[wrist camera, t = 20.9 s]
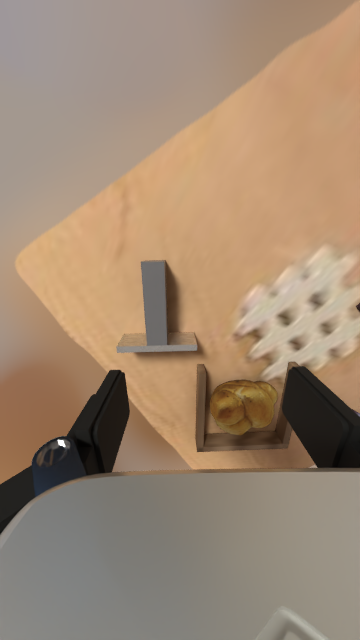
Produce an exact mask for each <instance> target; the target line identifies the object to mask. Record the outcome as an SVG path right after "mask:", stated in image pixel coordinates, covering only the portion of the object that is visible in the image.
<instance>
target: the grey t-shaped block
mask: <svg viewBox="0 0 360 640" xmlns="http://www.w3.org/2000/svg"><path fill="white" fill-rule="evenodd" d="M141 269H142V283H143V297H144V311H145V325H146V333H135V334H124V335H123V337H122V338H121V340H120V342H119V343H118V345H117V353H124V352H162V351H197V342H196V338H195V335H194V332H179V333H168V321H167V290H166V260H152V261H142V262H141Z"/></svg>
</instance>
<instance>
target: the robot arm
mask: <svg viewBox="0 0 360 640" xmlns="http://www.w3.org/2000/svg"><path fill="white" fill-rule="evenodd" d="M129 412H130V410H129V402H128V395H127V387H126V380H125V373H124V372H121V370H110V371H109V373H108V374H107V376H106V378H105V379H104V381H103V383H102V385H101V386H100V388H99V389H98V391H97V393H96V394H94V395H92V396H91V397H90V399H89V400H88V402H87V404H86V405H85V407H84V409H83V410H82V412H81V413H80V415H79V417H78V418H77V420H76V421H75V423H74V425H73V426H72V428H71V430H70V431H69V433H68V434H67V436H61V437H57V438H54V439H52V440H50V441H48V442H47V443H46V444H44V445H43V446H42V447H40V448H39V450H38V451H37V452H36V453H35V455H34V457H33V459H32V465H31V466H30V467H28V468H26V469H25V470H23V471H22V472H20V473H18V474H17V475H15V476H13V477H12V478H10V479H9V480H7V481H5V482H4V483H2V484H0V640H360V417H359V416H358V415H357V414H356V413H355V412H354V411H353V410H352V409H351V408H349V407H348V406H347V405H346V404H345V403H344V402H343V401H342V400H341V399H340V398H338V397H337V396H336V395H335V394H334V393H333V392H332V391H331V390H330V389H329V388H328V387H326V386H325V385H324V384H323V383H322V382H321V381H320V380H319V379H318V378H317V377H316V376H314V375H313V374H312V373H311V372H310V371H309V370H308V369H307V368H306V367H304V366H296V367H292V368H291V369H290V370H289V371H288V376H287V381H286V387H285V392H284V397H283V403H282V412H283V414H284V416H285V417H286V419H287V421H288V422H289V424H290V425H291V427H292V428H293V430H294V431H295V433H296V435H297V436H298V438H299V439H300V441H301V442H302V444H303V446H304V447H305V449H306V450H307V452H308V453H309V455H310V456H311V458H312V460H313V461H314V463H315V464H316V466H317V467H318V468H260V469H199V470H158V471H156V470H155V471H129V472H112V469H113V466H114V463H115V460H116V456H117V453H118V450H119V446H120V444H121V441H122V437H123V434H124V431H125V427H126V424H127V421H128V418H129Z"/></svg>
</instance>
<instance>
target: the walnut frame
mask: <svg viewBox="0 0 360 640" xmlns="http://www.w3.org/2000/svg"><path fill="white" fill-rule="evenodd" d="M296 366H299V365H298V364H297V363H296V362H289V363H288V368H287V374H286V379H285V384H284V389H283V394H282V399H281V404H280V410H279V415H278V420H277V425H276V430H275V431H269V432H245V433H244V434H242V435H235V434H230V433H217V434H204V418H205V393H206V371H205V367H204V364H197V394H196V447H197V452H210V451H234V450H259V449H283V448H288V444H289V440H290V436H291V431H292V427H291V425H290V424H289V422H288V421H287V419H286V417H285V416H284V414H283V412H282V403H283V397H284V392H285V387H286V381H287V376H288V371H289V370H290V369H291V368H292V367H296Z"/></svg>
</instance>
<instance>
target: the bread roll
mask: <svg viewBox="0 0 360 640" xmlns="http://www.w3.org/2000/svg"><path fill="white" fill-rule="evenodd" d="M277 397H278V396H277V391H276V390H275V388H274V387H272V386H271V385H270V384H268V383H266V382H263V381H256V382H252V381H247V380H234V381H228V382H226V383H223V384H221V385H219V386H218V387H217V388H216V389H215V390H214V392H213V394H212V396H211V399H210V409H211V414H212V416H213V417H214V419H215V421H216V423H217V425H218V426H219V427H220V428H221V429H222V430H224V431H225V432H227V433H230V434H235V435H242V434H244V433H245V432H246V431H247V430H249V429H250V427H255V428H263V427H265V426H267V425H269V424H270V423H271V420H272V418H273V416H274V404H275V403H276V401H277Z"/></svg>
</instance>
